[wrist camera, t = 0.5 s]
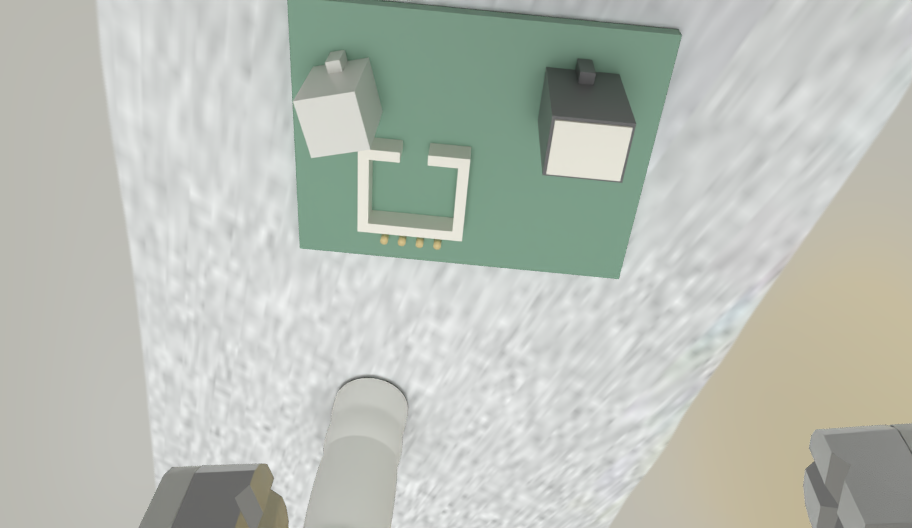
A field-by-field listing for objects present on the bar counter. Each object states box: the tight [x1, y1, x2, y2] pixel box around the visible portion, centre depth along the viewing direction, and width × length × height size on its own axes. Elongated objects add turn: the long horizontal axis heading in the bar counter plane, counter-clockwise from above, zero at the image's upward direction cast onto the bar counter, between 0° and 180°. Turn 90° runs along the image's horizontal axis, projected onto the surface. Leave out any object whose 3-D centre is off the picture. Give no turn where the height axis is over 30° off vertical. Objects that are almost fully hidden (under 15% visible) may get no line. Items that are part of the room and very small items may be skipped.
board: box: [287, 0, 682, 279], centre depth 54 cm, size 20×26×3 cm
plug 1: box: [293, 50, 383, 158], centre depth 49 cm, size 5×4×6 cm
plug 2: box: [538, 58, 636, 183], centre depth 48 cm, size 5×5×8 cm
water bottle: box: [303, 378, 408, 528], centre depth 61 cm, size 7×7×25 cm
